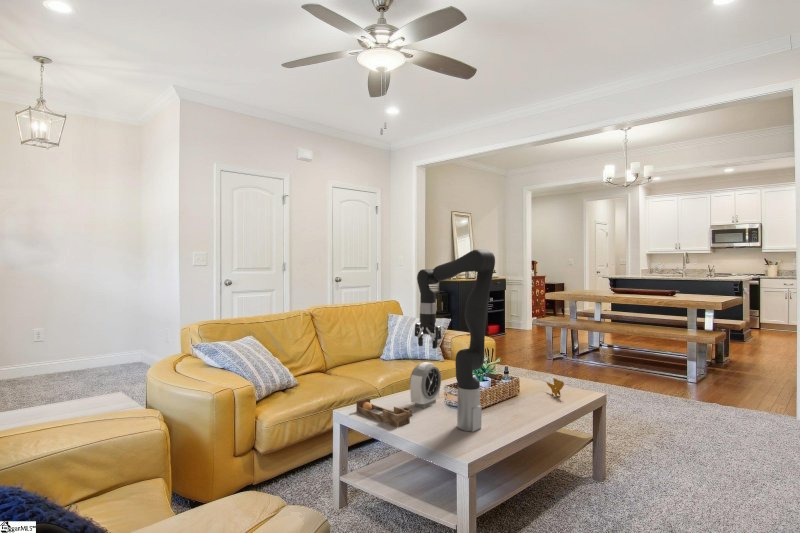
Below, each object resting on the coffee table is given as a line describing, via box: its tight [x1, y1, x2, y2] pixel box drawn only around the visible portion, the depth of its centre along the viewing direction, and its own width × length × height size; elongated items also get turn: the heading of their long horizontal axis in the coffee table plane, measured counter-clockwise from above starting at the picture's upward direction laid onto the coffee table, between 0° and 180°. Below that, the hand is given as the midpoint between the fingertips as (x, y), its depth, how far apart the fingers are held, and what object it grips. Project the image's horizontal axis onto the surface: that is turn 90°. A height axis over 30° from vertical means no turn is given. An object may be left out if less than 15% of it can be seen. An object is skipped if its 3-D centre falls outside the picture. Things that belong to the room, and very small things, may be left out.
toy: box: [545, 377, 565, 397], centre depth 235 cm, size 3×16×10 cm, turn 14°
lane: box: [355, 397, 411, 428], centre depth 199 cm, size 27×7×5 cm, turn 45°
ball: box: [362, 402, 372, 410], centre depth 206 cm, size 4×4×4 cm
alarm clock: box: [409, 361, 442, 409], centre depth 218 cm, size 18×8×20 cm, turn 143°
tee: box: [402, 407, 413, 417], centre depth 202 cm, size 4×4×3 cm
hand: (427, 347), depth 207 cm, fingers open, 8 cm apart
